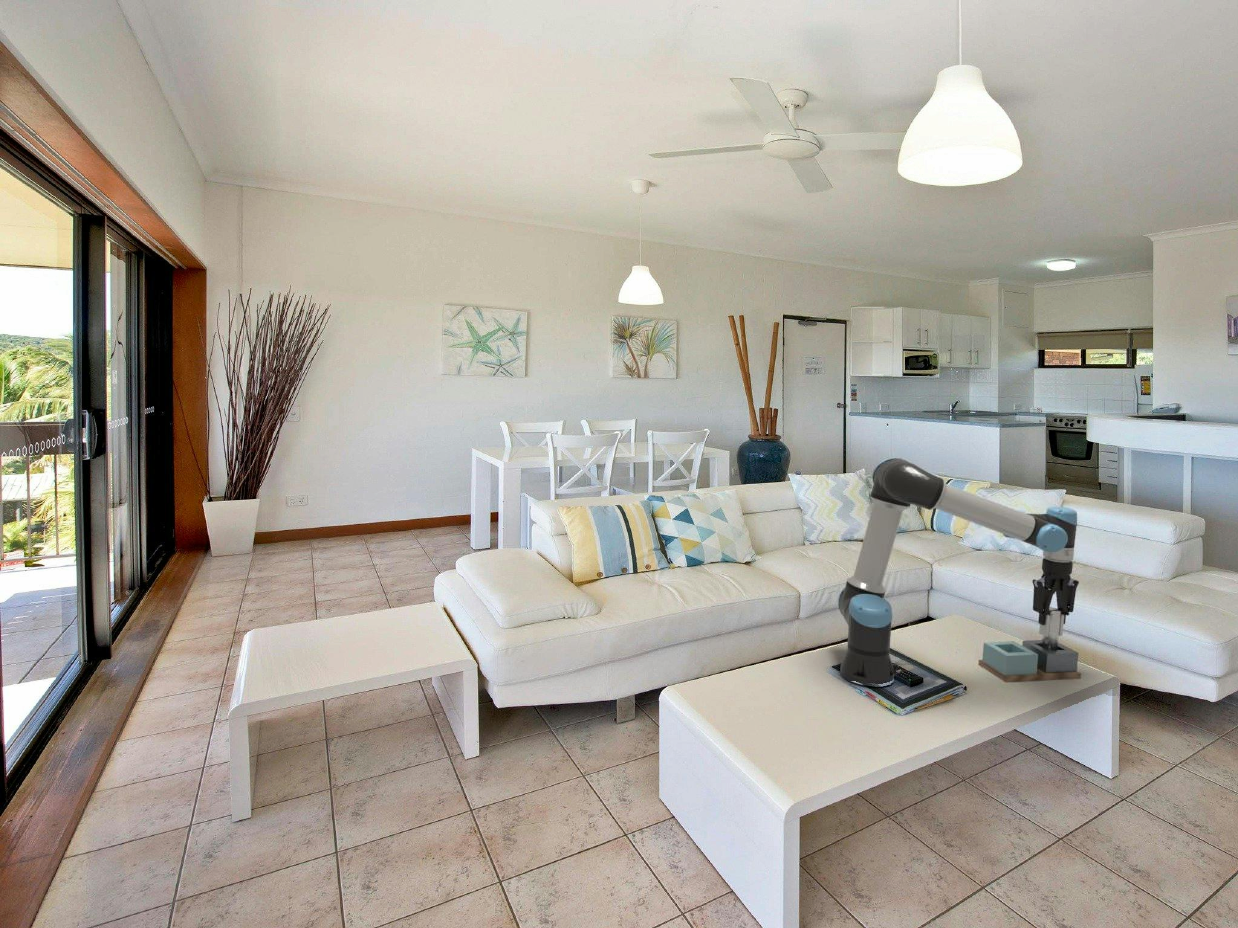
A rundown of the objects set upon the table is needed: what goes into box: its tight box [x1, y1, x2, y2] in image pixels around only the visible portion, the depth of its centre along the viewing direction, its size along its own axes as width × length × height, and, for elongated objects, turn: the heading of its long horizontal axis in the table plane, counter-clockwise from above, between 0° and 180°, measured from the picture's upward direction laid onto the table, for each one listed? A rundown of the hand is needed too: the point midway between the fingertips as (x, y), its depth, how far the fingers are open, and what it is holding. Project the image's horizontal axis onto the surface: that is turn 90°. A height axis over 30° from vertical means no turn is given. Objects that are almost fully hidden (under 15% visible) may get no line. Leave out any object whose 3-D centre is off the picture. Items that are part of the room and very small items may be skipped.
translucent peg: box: [1041, 606, 1061, 651], centre depth 195 cm, size 4×4×14 cm
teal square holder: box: [981, 640, 1038, 675], centre depth 195 cm, size 10×10×6 cm
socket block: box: [1021, 639, 1079, 673], centre depth 196 cm, size 10×10×6 cm
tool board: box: [978, 659, 1082, 683], centre depth 196 cm, size 24×12×2 cm, turn 96°
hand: (1050, 634), depth 195 cm, fingers closed on translucent peg, 4 cm apart
